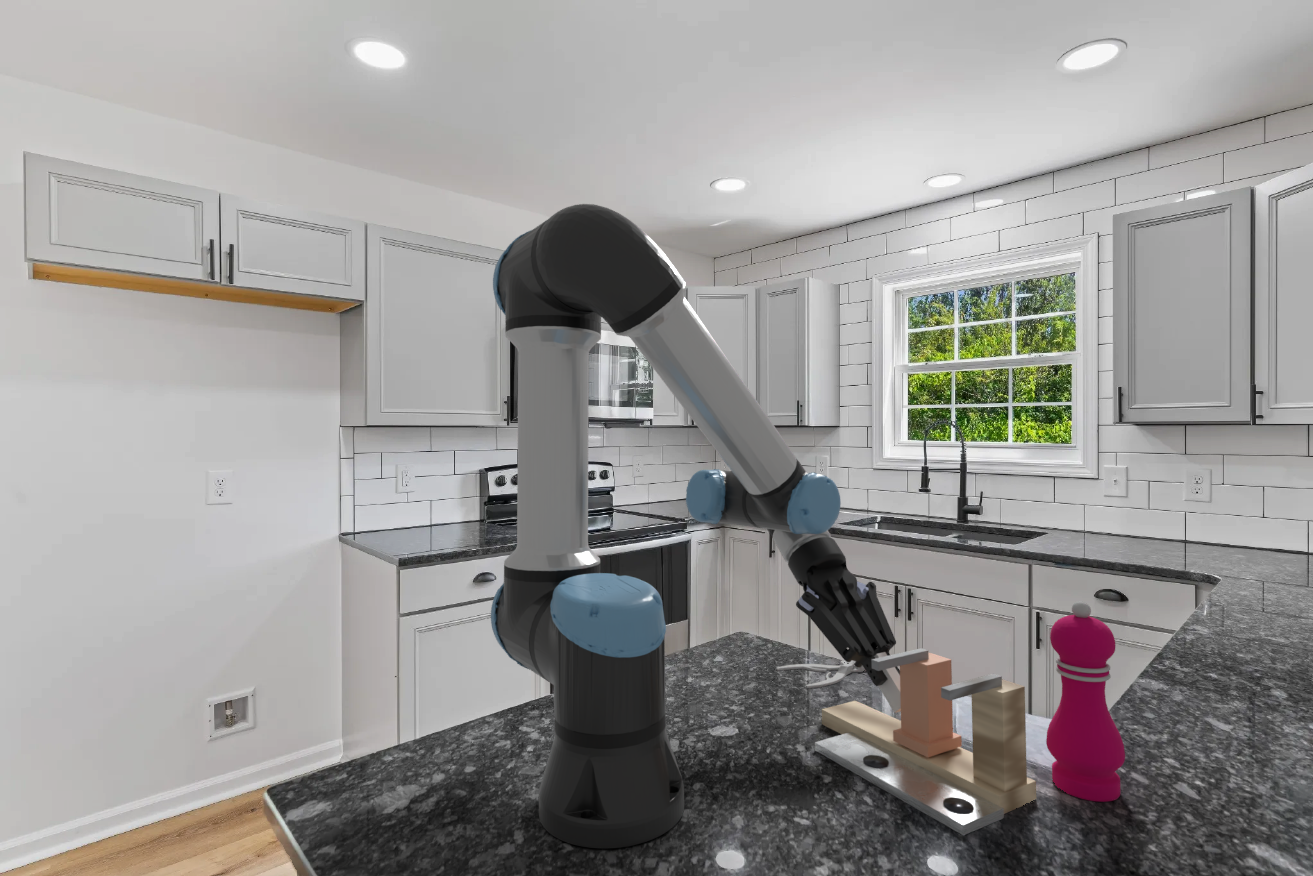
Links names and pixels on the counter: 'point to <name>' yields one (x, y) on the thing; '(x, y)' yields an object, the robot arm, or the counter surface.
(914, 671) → the slide leg
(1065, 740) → the pepper mill
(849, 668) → the pliers
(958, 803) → the hole plate
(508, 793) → the counter surface
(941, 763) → the rail
